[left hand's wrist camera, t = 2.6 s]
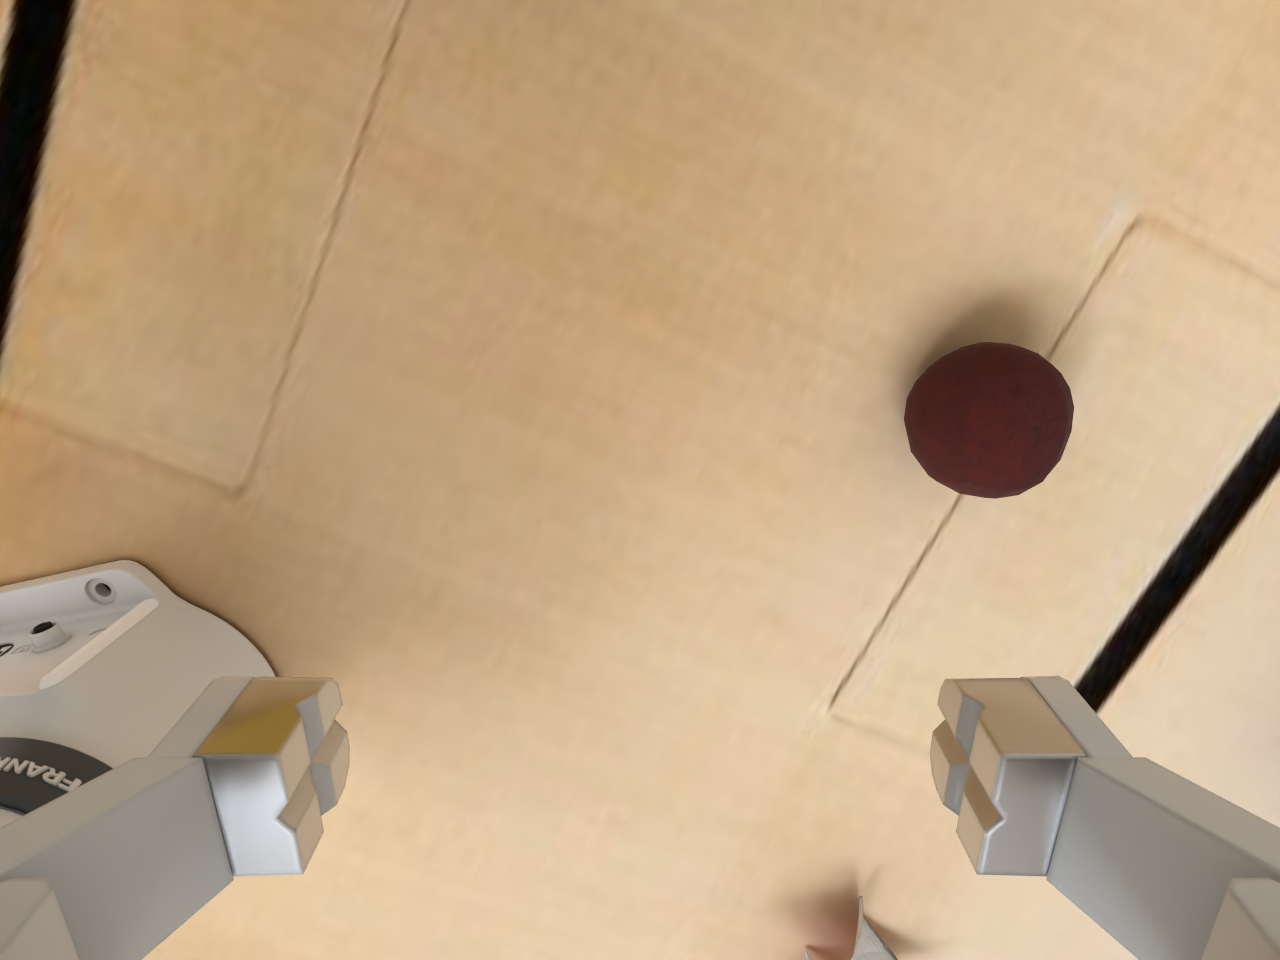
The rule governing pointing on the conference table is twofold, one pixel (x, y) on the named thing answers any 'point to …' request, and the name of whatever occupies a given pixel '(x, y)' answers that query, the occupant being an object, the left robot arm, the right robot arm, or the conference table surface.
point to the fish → (868, 942)
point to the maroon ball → (989, 419)
